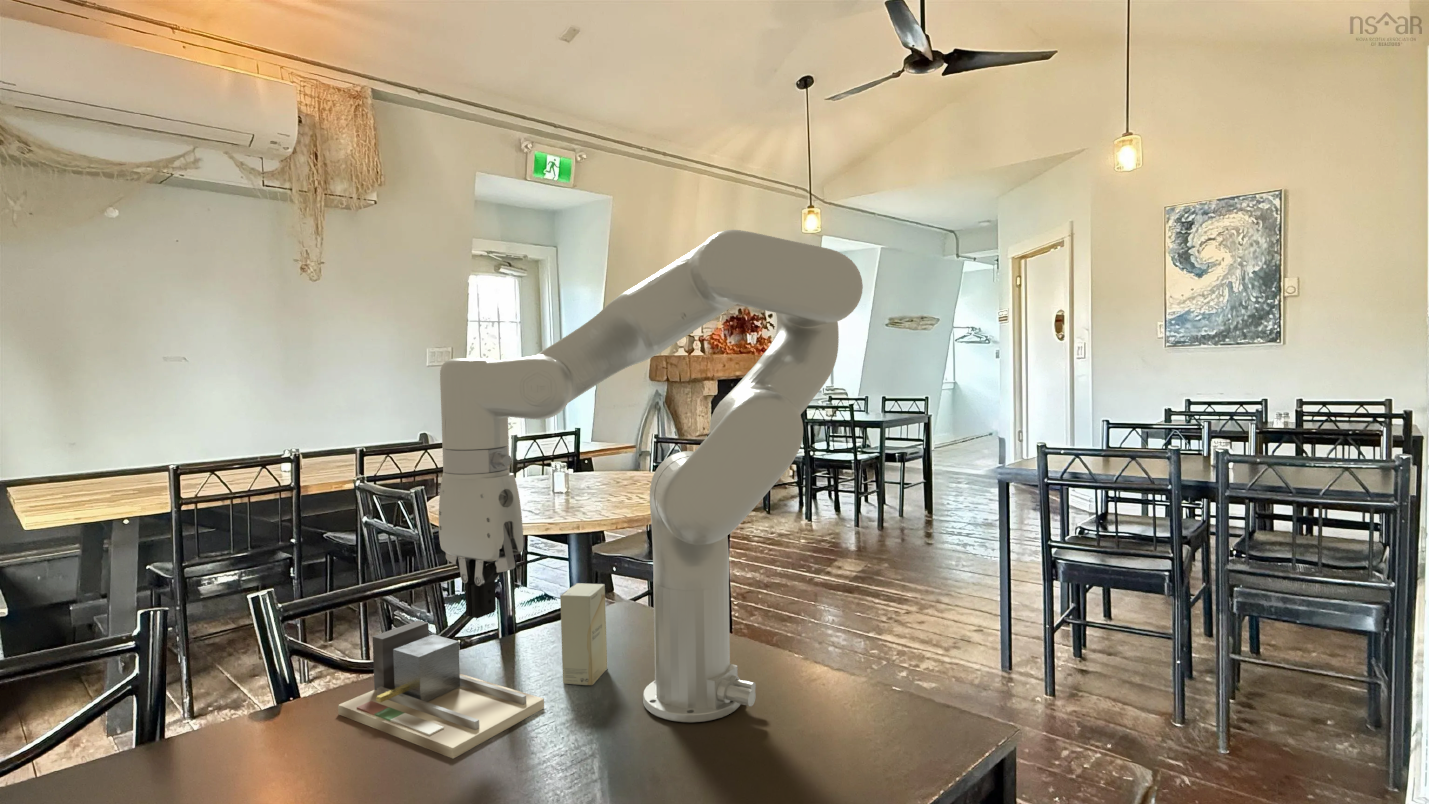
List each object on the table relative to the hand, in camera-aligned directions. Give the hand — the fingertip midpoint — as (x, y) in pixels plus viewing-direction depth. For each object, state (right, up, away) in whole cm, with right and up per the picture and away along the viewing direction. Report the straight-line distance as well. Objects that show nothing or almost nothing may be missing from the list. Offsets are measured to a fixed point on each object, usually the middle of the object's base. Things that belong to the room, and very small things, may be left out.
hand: (481, 613), depth 92 cm
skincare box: (+10, -12, +13) cm, 21 cm away
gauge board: (-6, -13, +3) cm, 15 cm away
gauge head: (-10, -12, +4) cm, 16 cm away
